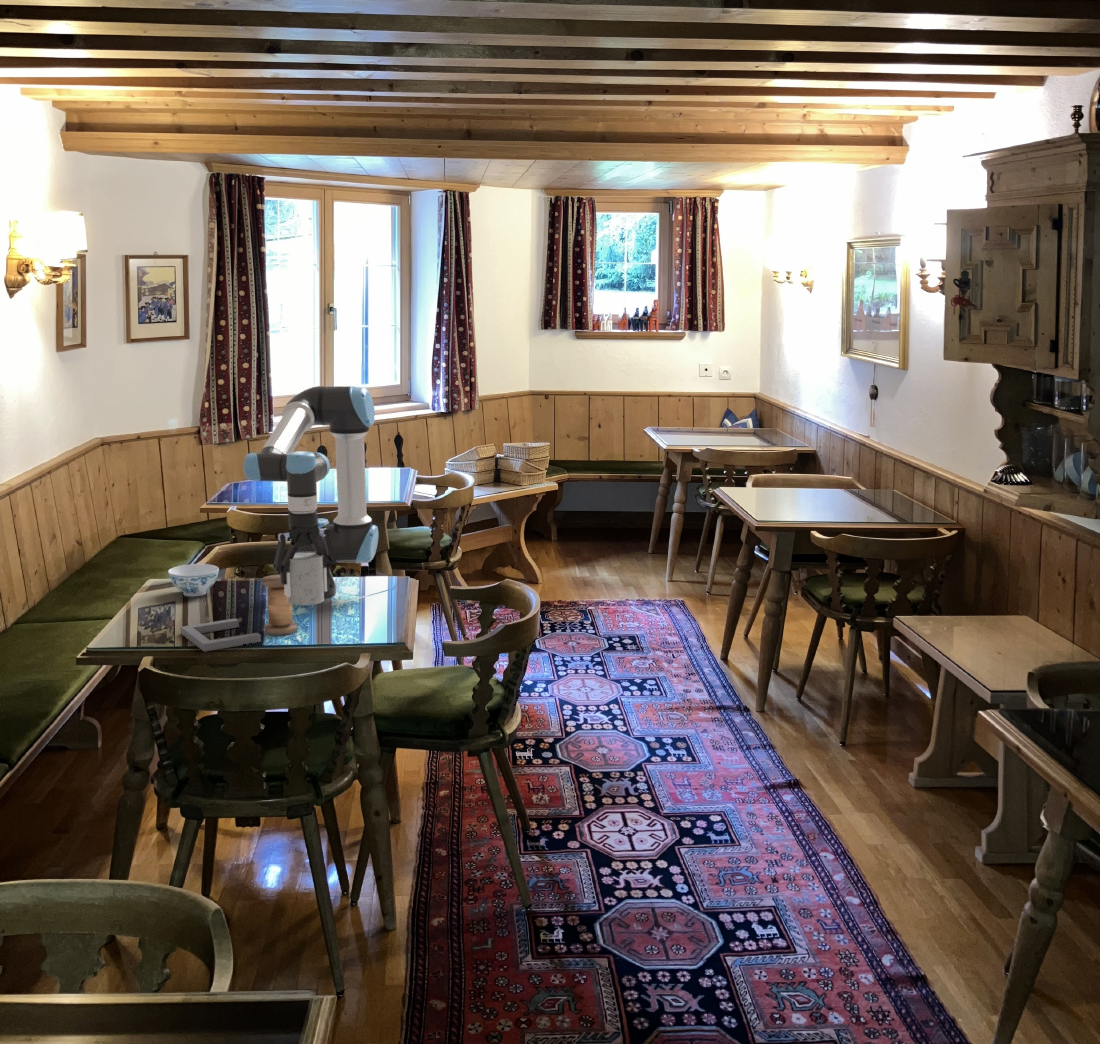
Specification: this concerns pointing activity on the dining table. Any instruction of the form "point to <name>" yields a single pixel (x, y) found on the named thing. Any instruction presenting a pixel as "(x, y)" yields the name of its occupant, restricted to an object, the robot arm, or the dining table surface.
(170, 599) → the dining table surface
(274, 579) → the bobbin
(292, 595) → the white scuffed cylinder
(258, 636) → the c-shaped bracket
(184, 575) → the chinaware
